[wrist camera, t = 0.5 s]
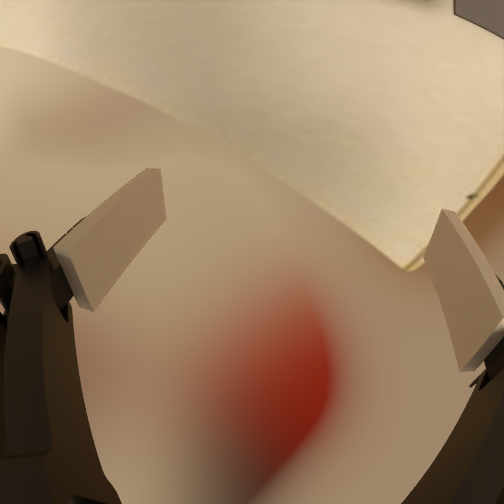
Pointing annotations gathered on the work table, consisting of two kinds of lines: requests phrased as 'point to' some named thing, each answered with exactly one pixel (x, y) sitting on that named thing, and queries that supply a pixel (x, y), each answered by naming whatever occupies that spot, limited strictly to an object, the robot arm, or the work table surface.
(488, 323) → the robot arm
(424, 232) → the work table surface
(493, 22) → the mat
